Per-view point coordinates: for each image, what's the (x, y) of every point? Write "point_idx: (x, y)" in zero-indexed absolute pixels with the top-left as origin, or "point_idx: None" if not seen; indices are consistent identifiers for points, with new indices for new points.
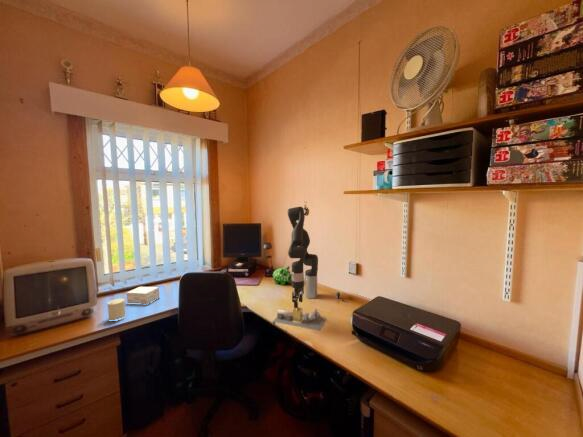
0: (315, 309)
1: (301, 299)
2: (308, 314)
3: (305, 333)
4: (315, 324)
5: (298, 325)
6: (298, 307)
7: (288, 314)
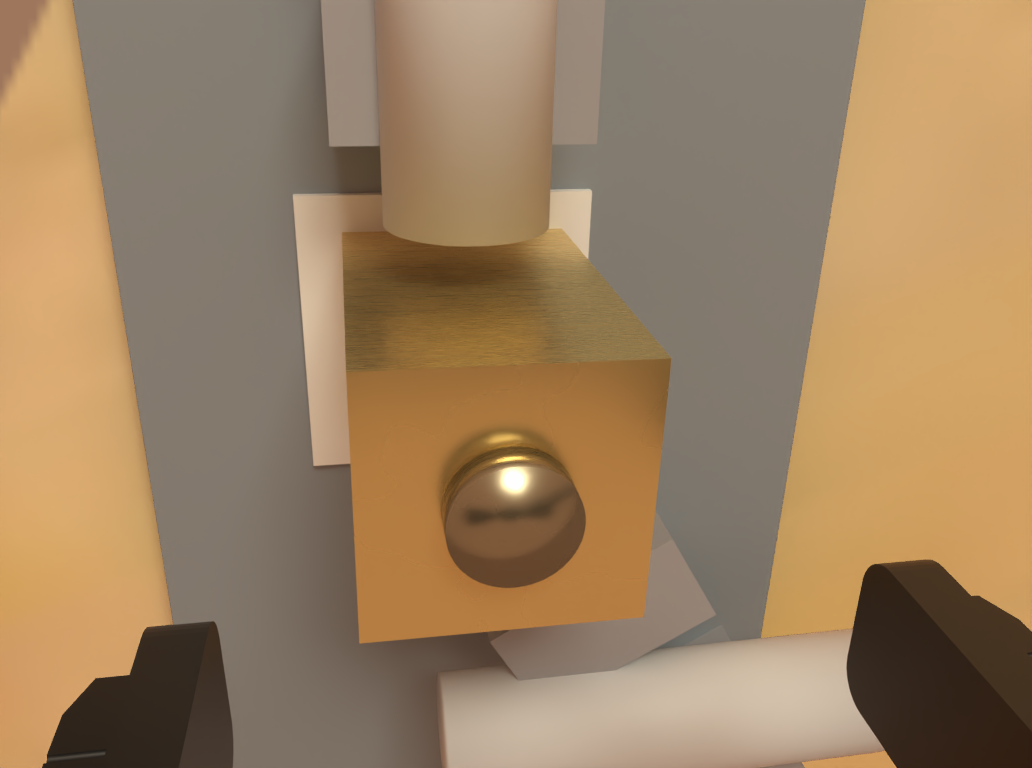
0: (844, 752)
1: (920, 766)
2: (610, 633)
3: (34, 644)
4: (414, 736)
5: (195, 444)
6: (574, 532)
7: (377, 74)
